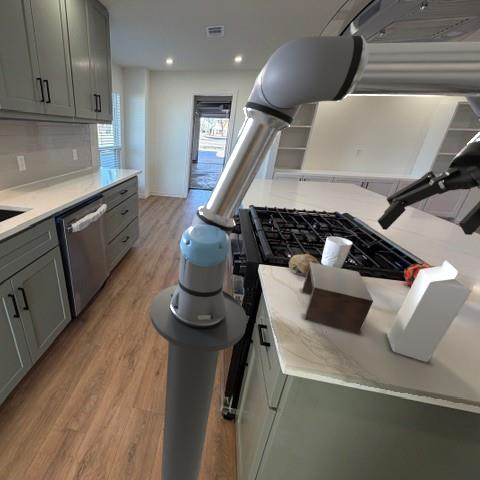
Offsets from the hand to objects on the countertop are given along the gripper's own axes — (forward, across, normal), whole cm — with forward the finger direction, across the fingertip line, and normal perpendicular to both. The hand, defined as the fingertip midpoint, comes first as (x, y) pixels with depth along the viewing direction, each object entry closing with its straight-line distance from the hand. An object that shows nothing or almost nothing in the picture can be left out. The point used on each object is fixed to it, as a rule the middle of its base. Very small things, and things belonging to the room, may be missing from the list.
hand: (417, 227), depth 50 cm
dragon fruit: (-15, +25, -43) cm, 52 cm away
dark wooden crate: (+16, +19, -18) cm, 31 cm away
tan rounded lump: (+6, +39, -19) cm, 44 cm away
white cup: (-5, +41, -28) cm, 50 cm away
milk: (+14, +5, -26) cm, 30 cm away
